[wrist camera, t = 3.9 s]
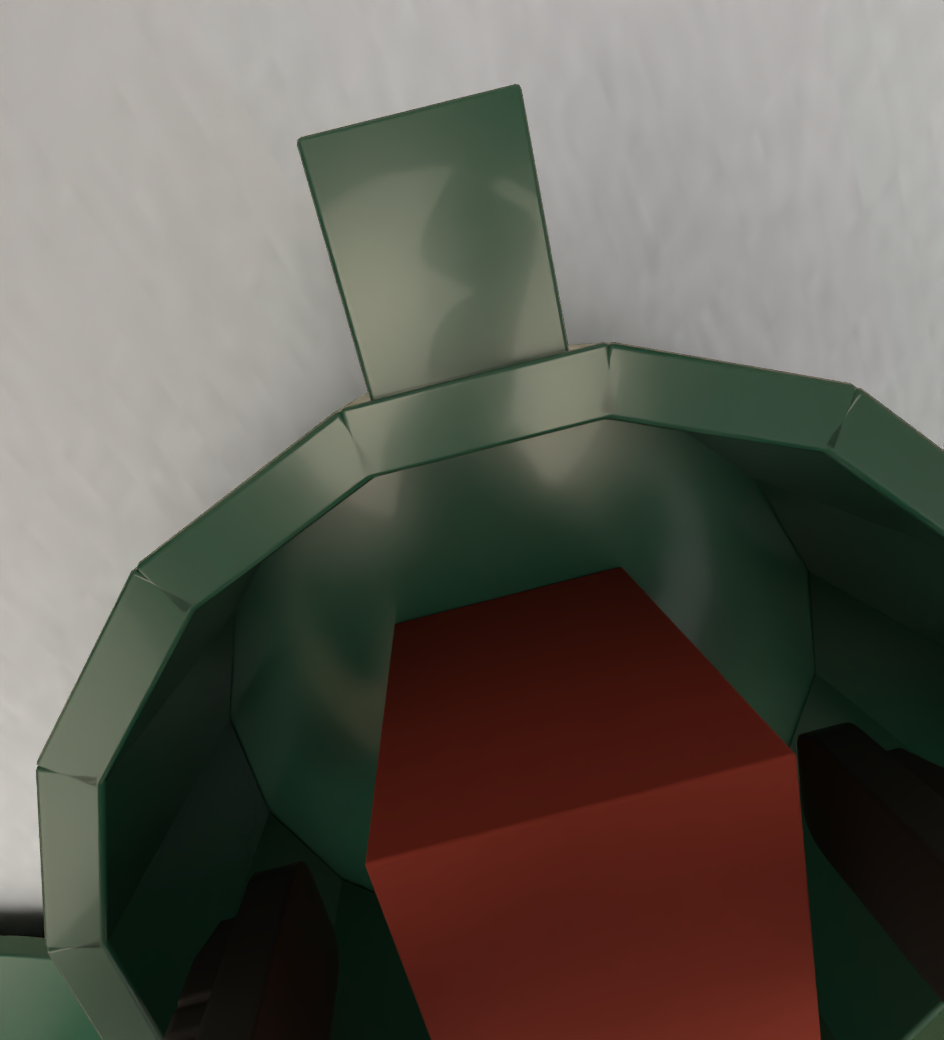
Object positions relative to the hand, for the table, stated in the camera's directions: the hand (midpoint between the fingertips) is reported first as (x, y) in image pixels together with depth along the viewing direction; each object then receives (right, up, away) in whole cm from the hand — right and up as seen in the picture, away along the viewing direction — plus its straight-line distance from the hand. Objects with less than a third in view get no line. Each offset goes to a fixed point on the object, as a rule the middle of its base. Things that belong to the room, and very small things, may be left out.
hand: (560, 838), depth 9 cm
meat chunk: (0, +1, +4) cm, 4 cm away
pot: (0, +1, +4) cm, 4 cm away
